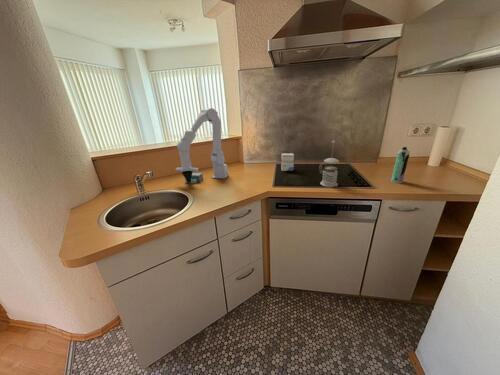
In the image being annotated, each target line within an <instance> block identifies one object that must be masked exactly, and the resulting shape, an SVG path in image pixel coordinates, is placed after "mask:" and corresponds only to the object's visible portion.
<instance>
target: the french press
mask: <svg viewBox="0 0 500 375" xmlns="http://www.w3.org/2000/svg"><path fill="white" fill-rule="evenodd" d="M331 143H332V146H334V144H336V140H332V141H331ZM333 153H334V149H332V152H331V155H333ZM338 163H340V160H339V159H337V158H333V157H328V158H325V159H324V160H323V162H321V163H320V165H319V167H320V170H319V173H322V178H321V179H322V180H321V181H320V183H319V184H320V185H321V186H324V187H330V188H335V187H338V185H339V184H338V183H337V181H338V180H337V179H338V167H336V166H334V164H338ZM326 164H331V165H327V166H324V167H323V165H326ZM332 164H333V165H332ZM323 168H324V169H323ZM334 186H335V187H334Z"/></svg>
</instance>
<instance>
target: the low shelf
mask: <svg viewBox="0 0 500 375" xmlns="http://www.w3.org/2000/svg"><path fill="white" fill-rule="evenodd" d="M191 177H198V179H199V181H198V183H200V182H202V181H203V180H204V176H203V173H202V172H193V173H192V176H191Z"/></svg>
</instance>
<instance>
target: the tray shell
mask: <svg viewBox="0 0 500 375" xmlns="http://www.w3.org/2000/svg"><path fill="white" fill-rule="evenodd" d="M184 183H185V184H188V183H187V181H186V179H185V178H184ZM197 183H199V179H198V177H191V182H190V183H189V184H197Z"/></svg>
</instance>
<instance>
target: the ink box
mask: <svg viewBox="0 0 500 375" xmlns="http://www.w3.org/2000/svg"><path fill="white" fill-rule="evenodd" d="M280 157H281V158H280V159H281V160H280V162H281V165H280V168H281V170H280V171H281V172H286V171H287V172H290V171H292V172H293V171H294V165H295V164H294V160H295V154H294V153H281V156H280Z"/></svg>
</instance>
